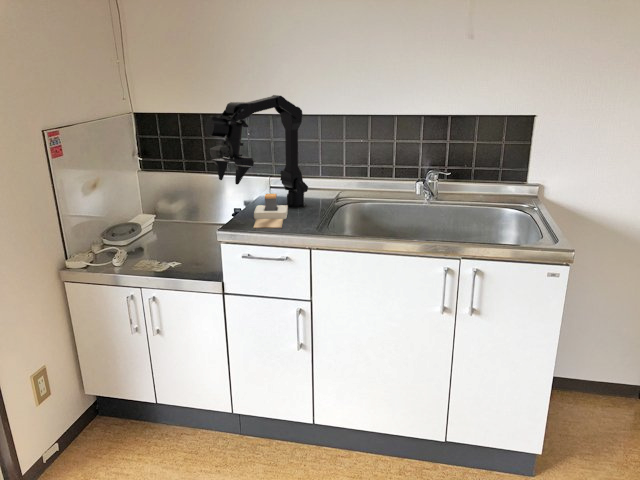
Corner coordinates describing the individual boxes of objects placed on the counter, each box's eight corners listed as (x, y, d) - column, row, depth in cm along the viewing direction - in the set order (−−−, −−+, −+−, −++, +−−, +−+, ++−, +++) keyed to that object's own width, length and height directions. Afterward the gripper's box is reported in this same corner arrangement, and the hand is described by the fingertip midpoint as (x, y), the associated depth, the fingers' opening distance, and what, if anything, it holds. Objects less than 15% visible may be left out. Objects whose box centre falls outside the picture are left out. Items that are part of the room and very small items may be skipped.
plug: (277, 213, 208) (276, 193, 206) (276, 216, 204) (275, 196, 202) (266, 213, 208) (265, 193, 206) (265, 216, 204) (264, 196, 202)
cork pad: (283, 219, 201) (283, 218, 201) (281, 228, 191) (281, 227, 191) (256, 219, 201) (256, 218, 201) (253, 228, 191) (253, 227, 191)
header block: (287, 211, 211) (287, 203, 210) (286, 218, 202) (286, 210, 200) (257, 211, 211) (256, 203, 210) (254, 219, 202) (253, 210, 201)
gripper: (198, 133, 191) (194, 177, 194) (232, 140, 179) (227, 186, 183) (223, 136, 200) (219, 178, 203) (257, 142, 188) (252, 186, 191)
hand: (228, 182), depth 195 cm, fingers open, 9 cm apart
